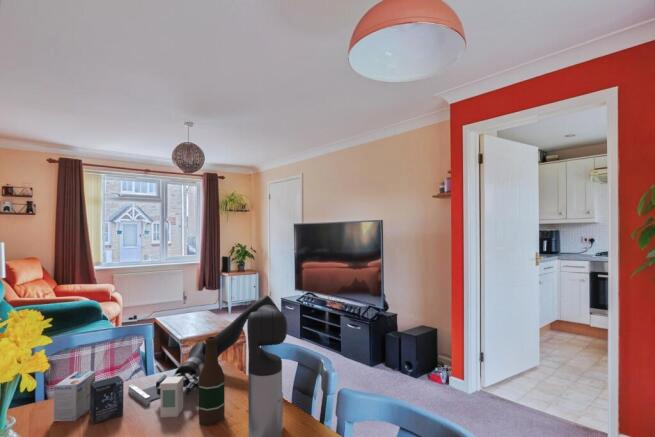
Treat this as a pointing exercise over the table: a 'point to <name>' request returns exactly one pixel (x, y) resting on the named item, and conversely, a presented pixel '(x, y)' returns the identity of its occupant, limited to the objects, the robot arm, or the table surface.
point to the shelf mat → (152, 393)
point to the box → (106, 399)
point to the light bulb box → (73, 396)
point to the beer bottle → (211, 387)
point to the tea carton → (171, 396)
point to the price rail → (139, 395)
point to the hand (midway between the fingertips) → (173, 391)
